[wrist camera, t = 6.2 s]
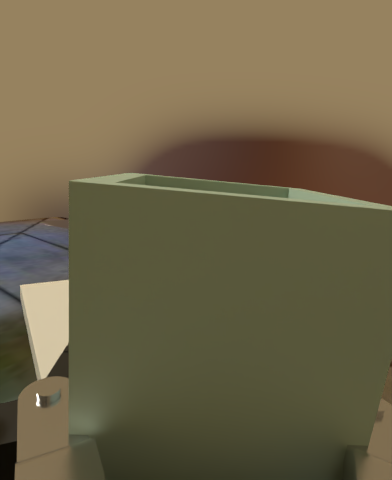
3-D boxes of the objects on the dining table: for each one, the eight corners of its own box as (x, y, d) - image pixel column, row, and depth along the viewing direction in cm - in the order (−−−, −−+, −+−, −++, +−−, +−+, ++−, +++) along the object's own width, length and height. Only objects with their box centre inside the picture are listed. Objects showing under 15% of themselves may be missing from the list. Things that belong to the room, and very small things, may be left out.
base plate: (281, 350, 26) (299, 246, 24) (48, 431, 17) (45, 269, 15) (177, 278, 41) (183, 209, 39) (20, 299, 31) (17, 208, 29)
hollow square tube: (294, 725, 8) (429, 213, 5) (68, 730, 8) (69, 180, 5) (242, 464, 16) (285, 186, 13) (122, 460, 15) (136, 172, 12)
